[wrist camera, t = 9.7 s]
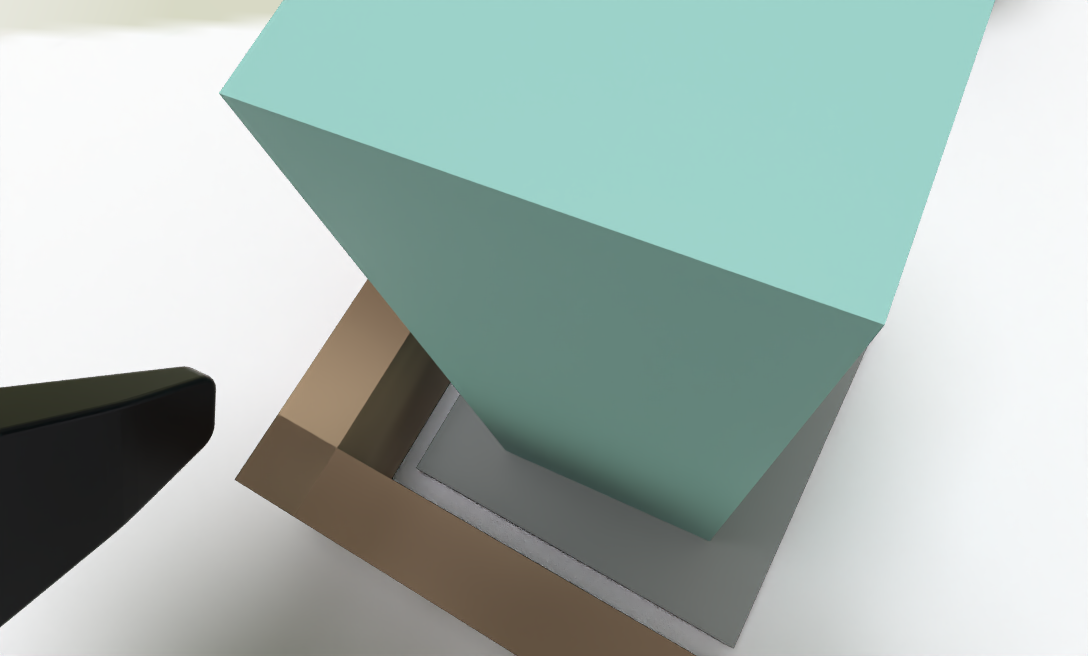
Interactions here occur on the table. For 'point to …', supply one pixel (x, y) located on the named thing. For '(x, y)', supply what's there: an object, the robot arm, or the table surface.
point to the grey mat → (640, 518)
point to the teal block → (623, 207)
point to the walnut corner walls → (415, 497)
